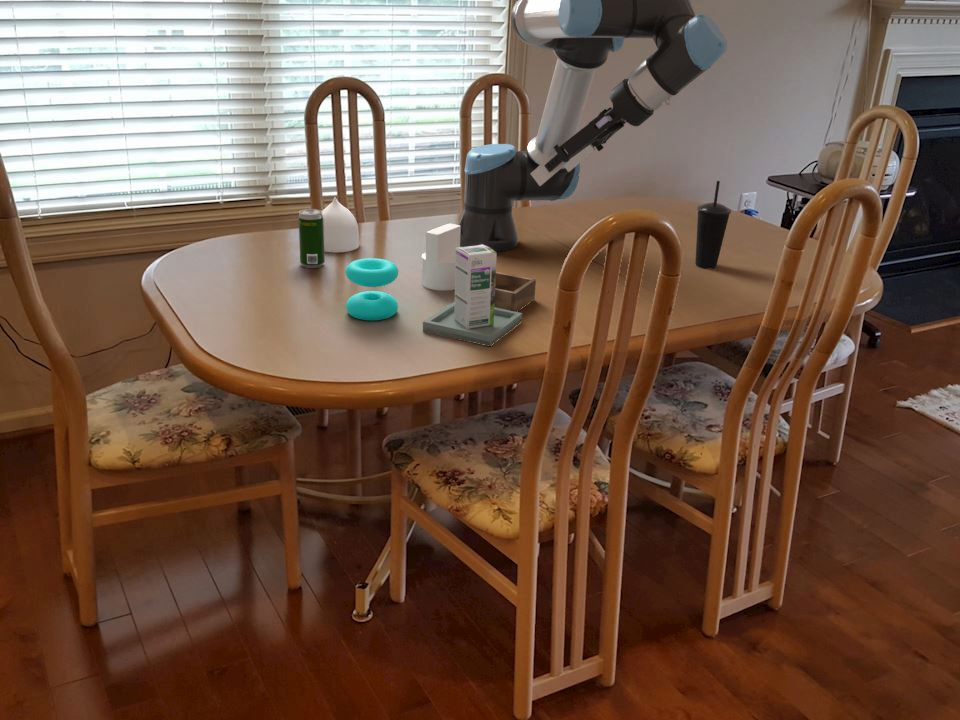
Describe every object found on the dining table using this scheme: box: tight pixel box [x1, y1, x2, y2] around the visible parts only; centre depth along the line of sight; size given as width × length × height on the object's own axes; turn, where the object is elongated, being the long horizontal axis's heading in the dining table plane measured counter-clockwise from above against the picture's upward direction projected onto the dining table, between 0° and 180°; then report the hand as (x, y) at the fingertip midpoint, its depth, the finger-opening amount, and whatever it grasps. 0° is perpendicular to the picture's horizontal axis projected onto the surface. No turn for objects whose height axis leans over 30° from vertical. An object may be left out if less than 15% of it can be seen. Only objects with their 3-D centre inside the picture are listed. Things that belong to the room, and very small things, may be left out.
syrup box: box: [454, 244, 498, 329], centre depth 173 cm, size 6×6×14 cm
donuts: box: [345, 257, 399, 322], centre depth 179 cm, size 10×10×10 cm
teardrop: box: [321, 196, 360, 254], centre depth 218 cm, size 11×11×12 cm
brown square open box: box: [494, 271, 537, 312], centre depth 188 cm, size 10×10×4 cm
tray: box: [422, 301, 523, 347], centre depth 176 cm, size 14×14×2 cm
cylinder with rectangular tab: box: [420, 222, 461, 291], centre depth 196 cm, size 9×9×12 cm
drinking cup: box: [694, 180, 732, 269], centre depth 214 cm, size 8×8×20 cm
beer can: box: [298, 208, 326, 269], centre depth 204 cm, size 5×5×12 cm
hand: (550, 172), depth 166 cm, fingers open, 13 cm apart
